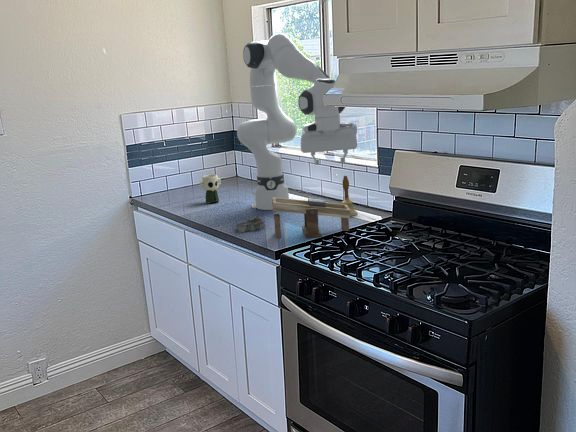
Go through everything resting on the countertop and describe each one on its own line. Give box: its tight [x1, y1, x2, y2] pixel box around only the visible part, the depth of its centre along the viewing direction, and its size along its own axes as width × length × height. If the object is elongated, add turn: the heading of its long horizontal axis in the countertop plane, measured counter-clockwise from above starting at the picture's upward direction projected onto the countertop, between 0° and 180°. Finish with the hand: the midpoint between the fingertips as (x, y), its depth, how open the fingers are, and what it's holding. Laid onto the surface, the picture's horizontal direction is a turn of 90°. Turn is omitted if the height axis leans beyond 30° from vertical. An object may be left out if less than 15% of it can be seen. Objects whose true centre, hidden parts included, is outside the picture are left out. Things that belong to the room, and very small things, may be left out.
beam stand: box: [273, 208, 350, 239], centre depth 216 cm, size 14×27×10 cm, turn 93°
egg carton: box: [234, 215, 265, 233], centre depth 228 cm, size 11×8×4 cm
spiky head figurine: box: [199, 174, 222, 203], centre depth 277 cm, size 11×7×13 cm, turn 126°
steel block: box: [307, 197, 327, 207], centre depth 214 cm, size 5×6×4 cm
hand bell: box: [340, 175, 359, 217], centre depth 238 cm, size 8×8×16 cm
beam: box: [272, 197, 351, 219], centre depth 215 cm, size 9×28×3 cm, turn 93°
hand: (329, 163), depth 211 cm, fingers open, 8 cm apart
